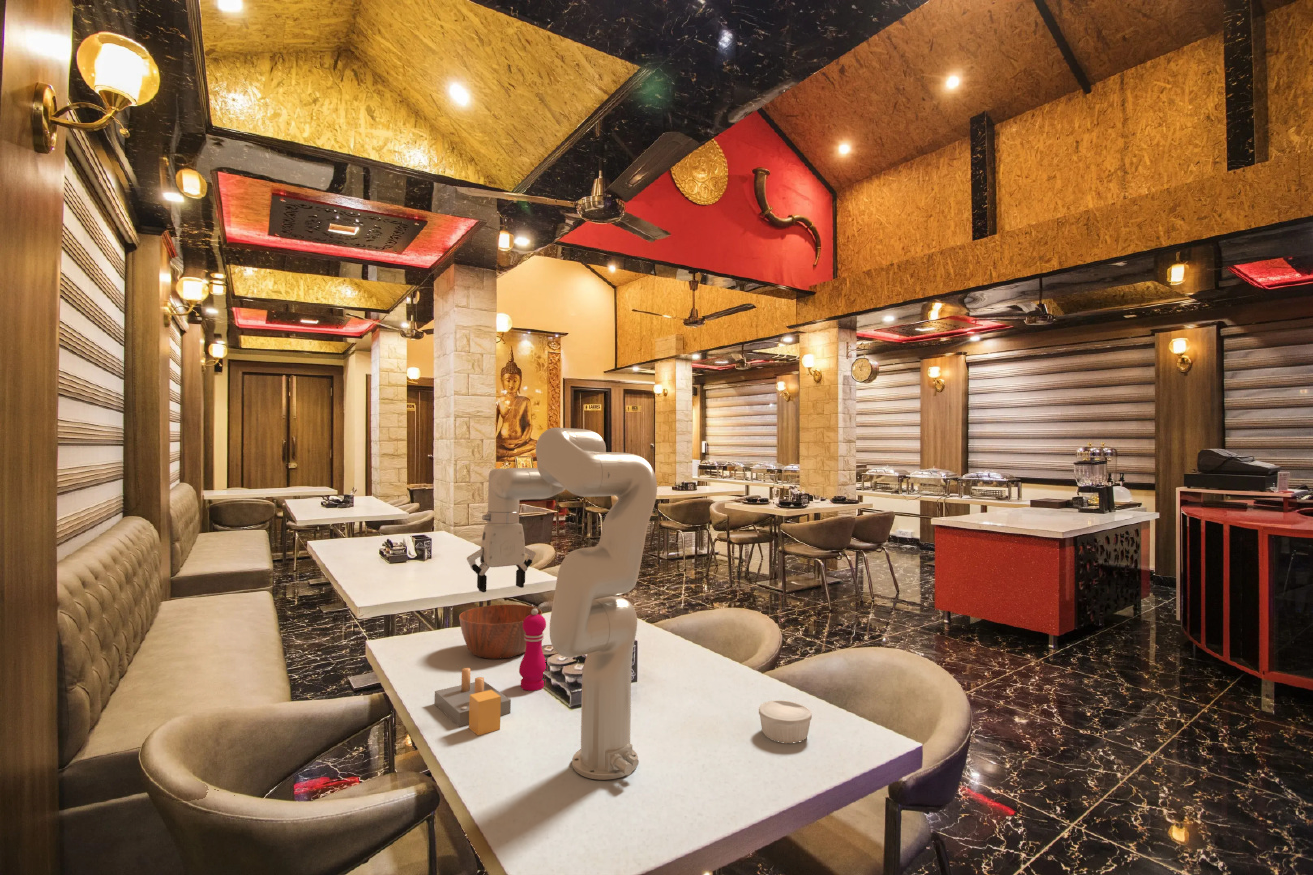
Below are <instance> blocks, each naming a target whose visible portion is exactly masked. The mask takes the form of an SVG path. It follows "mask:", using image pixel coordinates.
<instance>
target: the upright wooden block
mask: <svg viewBox="0 0 1313 875" xmlns="http://www.w3.org/2000/svg"><path fill="white" fill-rule="evenodd" d="M500 713H501V696H500V695H498V694H497V693H495V692H494V691H493V690H488V691H483V692H479V693H475V694H471V695H470V701H469V724H468V728H469V729H470V730H471V731H472V732H473V733H474V734H475V735H477V736H481V735H485V734H488V733H492V732H495V731H499V730H501V716H500Z"/></svg>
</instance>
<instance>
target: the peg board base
mask: <svg viewBox="0 0 1313 875" xmlns="http://www.w3.org/2000/svg"><path fill="white" fill-rule="evenodd" d="M488 690H493V691H494V692H495V693H497V694H498V695H500V696H501V713H500V717H501V716H505V715H508V714H511V708H512V707H511V703H512V701H511V698H509V697H508V696H506V695H505V694H503V693H502V692H500V691H499V690H497V689H495V687H493V686H492V685H490V684H489V683H487V682H486V681H485V677H483V676H478V677H475V678H474V682H471V668H470V667H464V668H462V669H461V684H459V685H455V686H452V687H447V688H442V689H437V690H434V705H435V706H436V707H437V706H438V707H437V708H438V709H439V708H440V709H439V710H440V711H441V712H442V713H444V715H446V716H447V717H448V718H449V719H450V720H451V721H453V723H455V724H456V726H458V727H459V728H460V727H463V726H464V727H465V726H469V701H470V695H471V694H475V693H479V692H483V691H488Z"/></svg>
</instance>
